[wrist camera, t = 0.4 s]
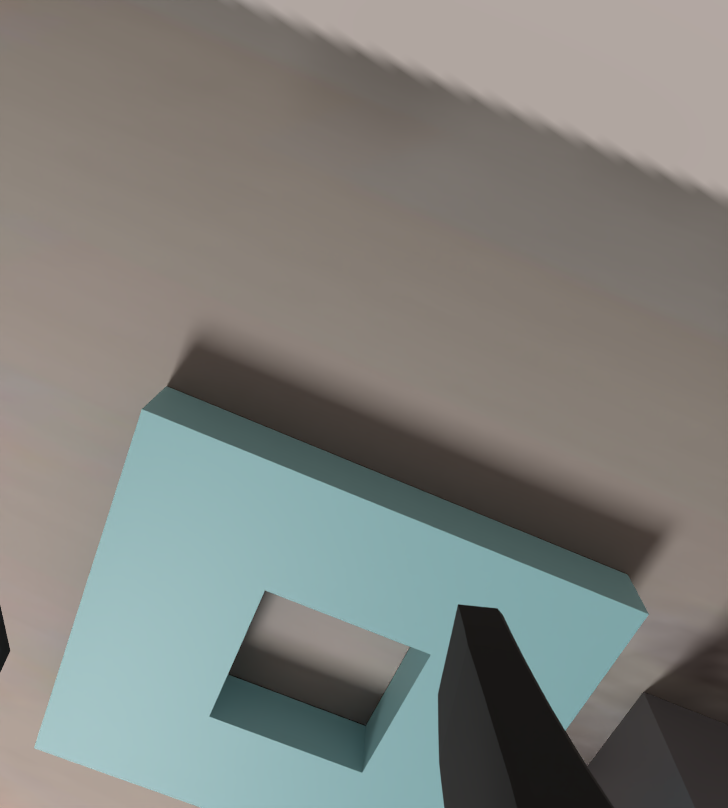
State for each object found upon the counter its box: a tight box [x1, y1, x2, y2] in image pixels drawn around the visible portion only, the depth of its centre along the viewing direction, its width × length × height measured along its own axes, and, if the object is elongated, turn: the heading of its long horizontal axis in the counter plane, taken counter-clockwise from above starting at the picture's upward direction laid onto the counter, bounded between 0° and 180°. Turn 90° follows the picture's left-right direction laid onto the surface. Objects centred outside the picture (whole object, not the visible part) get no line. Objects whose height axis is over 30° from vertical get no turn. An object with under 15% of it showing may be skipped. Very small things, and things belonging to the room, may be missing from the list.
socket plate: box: [34, 386, 649, 808], centre depth 22 cm, size 14×16×2 cm
